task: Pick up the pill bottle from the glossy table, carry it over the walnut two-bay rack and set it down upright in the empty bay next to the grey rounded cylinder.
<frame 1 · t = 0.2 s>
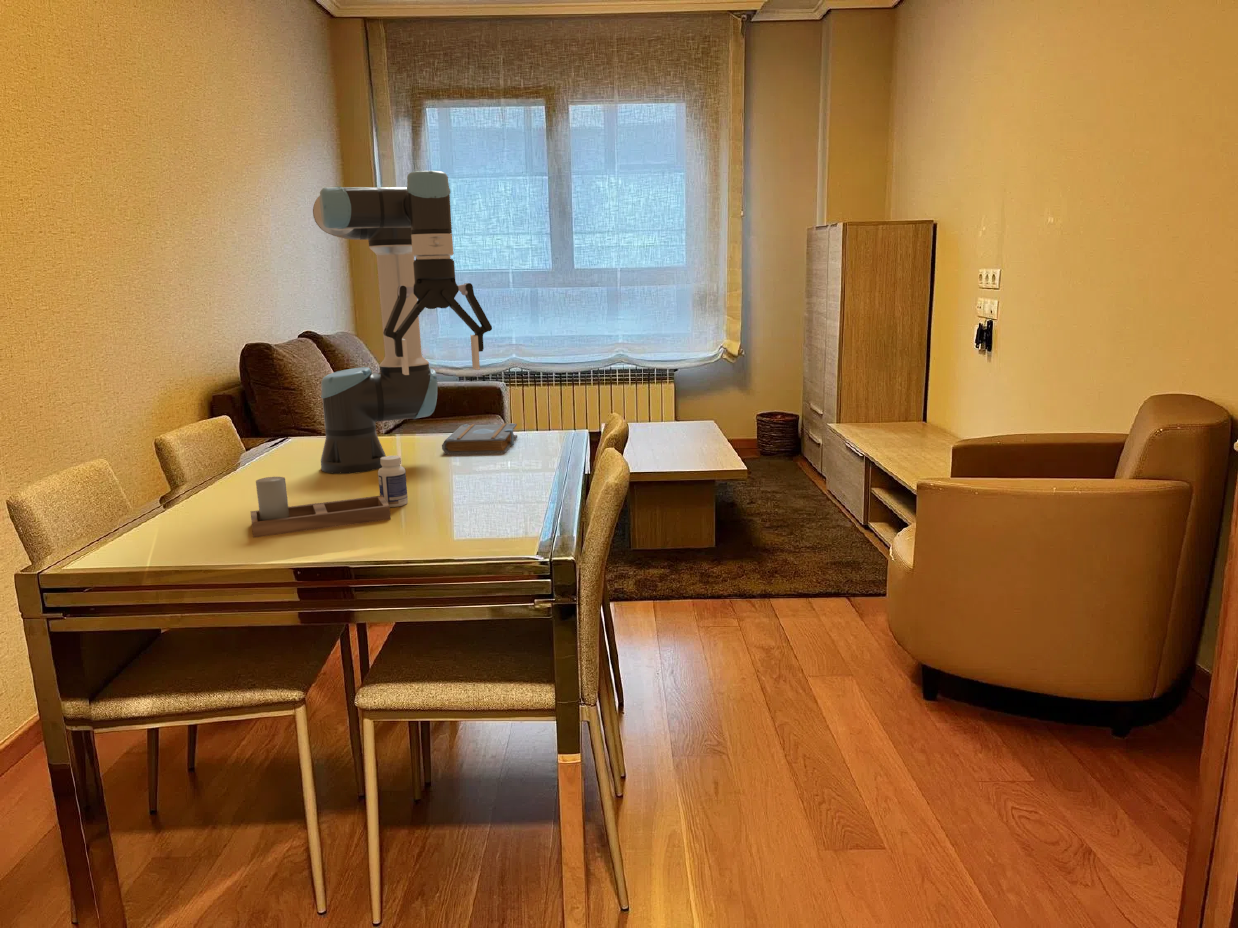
hand: (441, 371, 176), 27 cm above the table, fingers open, 13 cm apart
grey rounded cylinder: (275, 527, 168), point 1 cm above the table, touching rack
pill bottle: (394, 505, 186), on the table
rack: (322, 526, 171), on the table
book: (482, 447, 243), on the table
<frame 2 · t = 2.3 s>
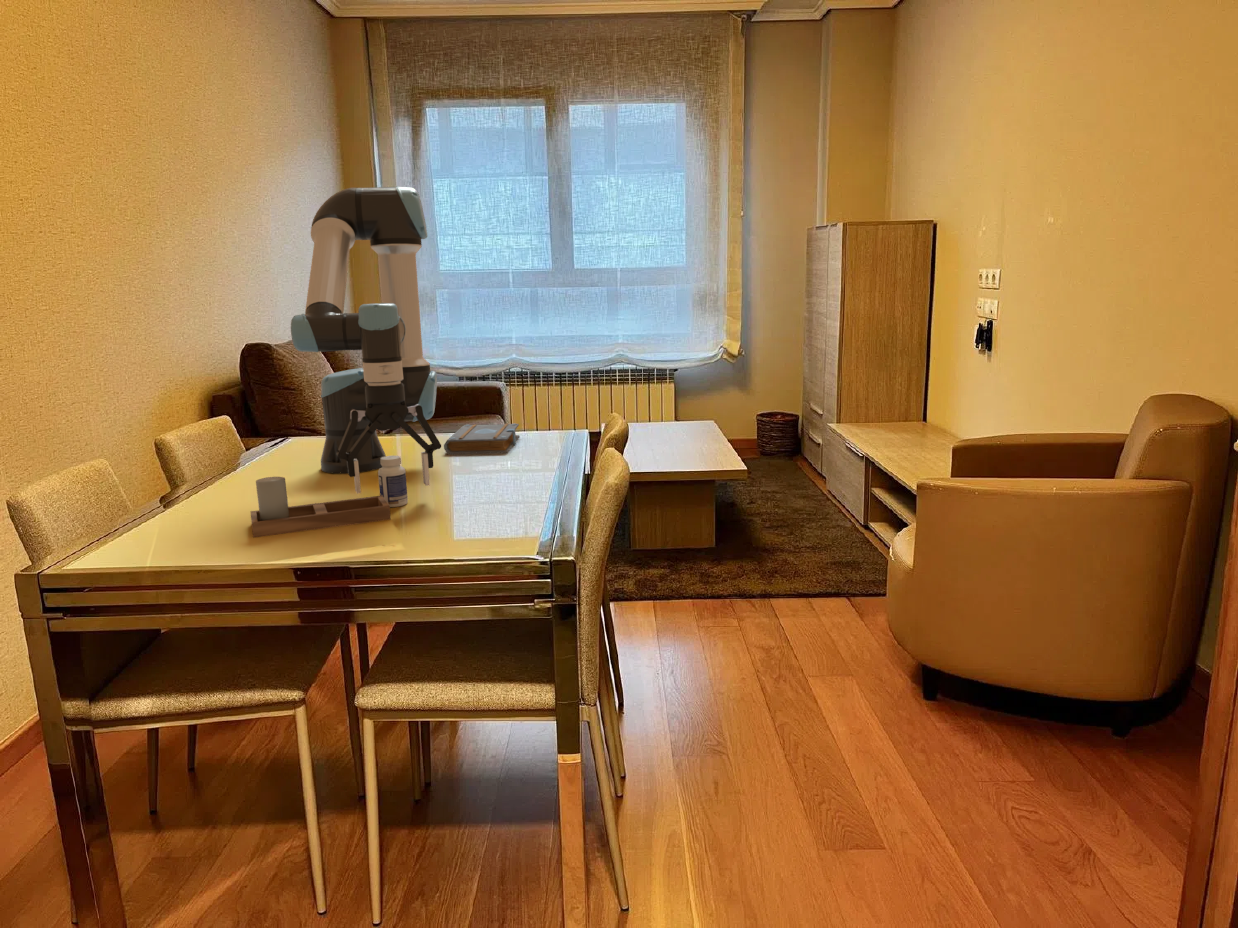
hand: (392, 488, 185), 3 cm above the table, fingers open, 13 cm apart
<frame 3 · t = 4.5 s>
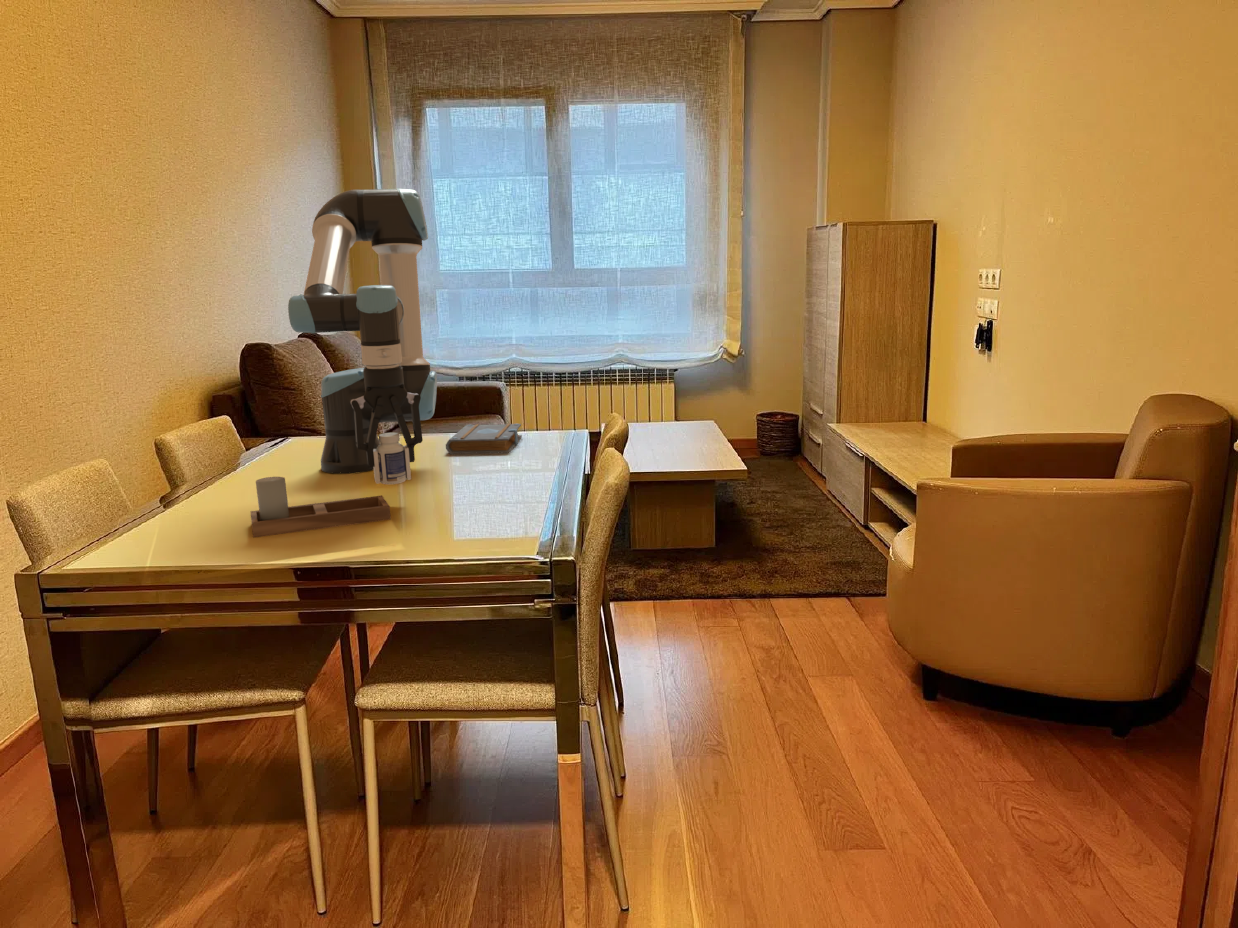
hand: (392, 479, 185), 5 cm above the table, fingers closed on pill bottle, 5 cm apart
pill bottle: (393, 482, 186), point 4 cm above the table, touching gripper
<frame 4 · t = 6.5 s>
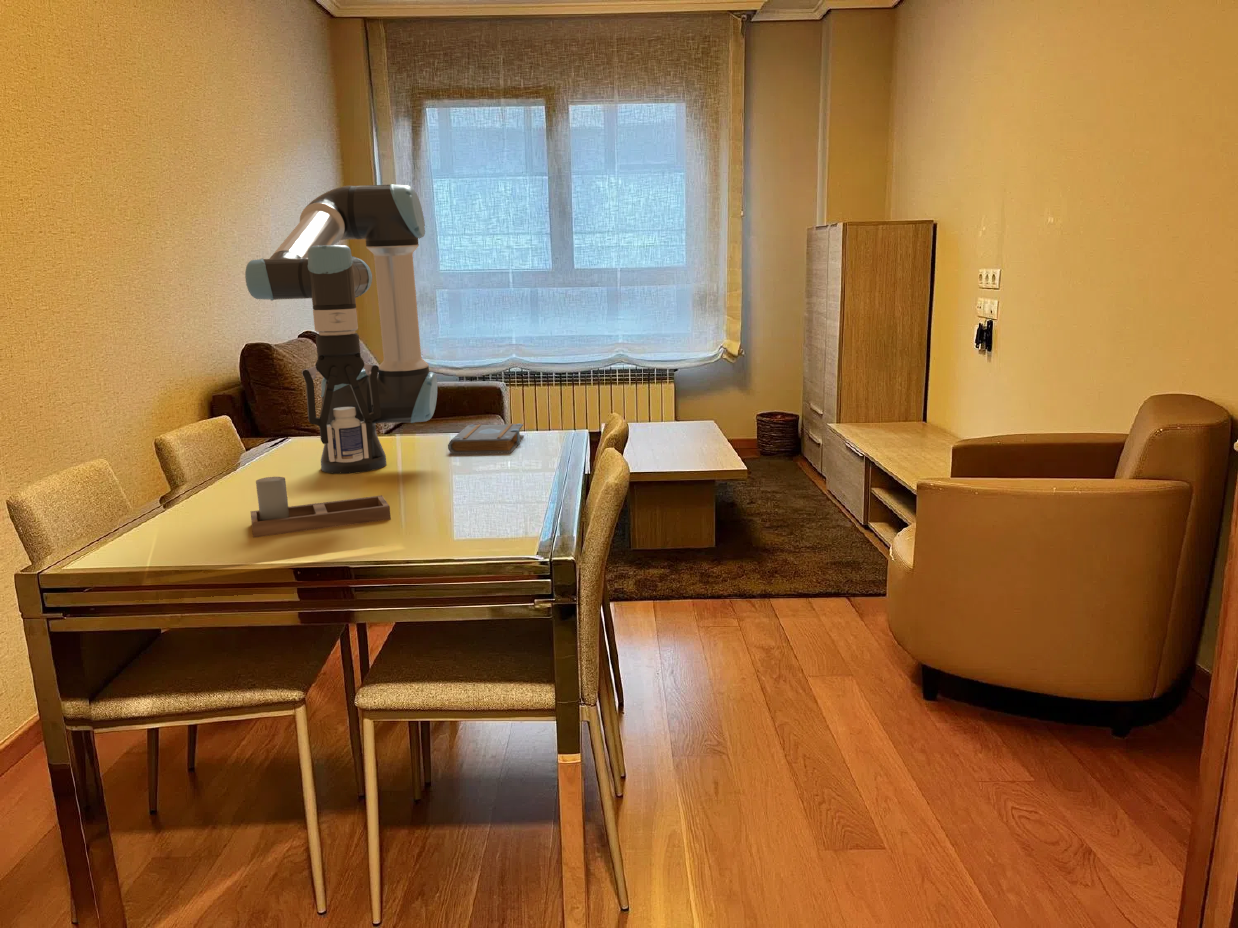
hand: (348, 458, 171), 12 cm above the table, fingers closed on pill bottle, 5 cm apart
pill bottle: (349, 461, 171), point 12 cm above the table, touching gripper
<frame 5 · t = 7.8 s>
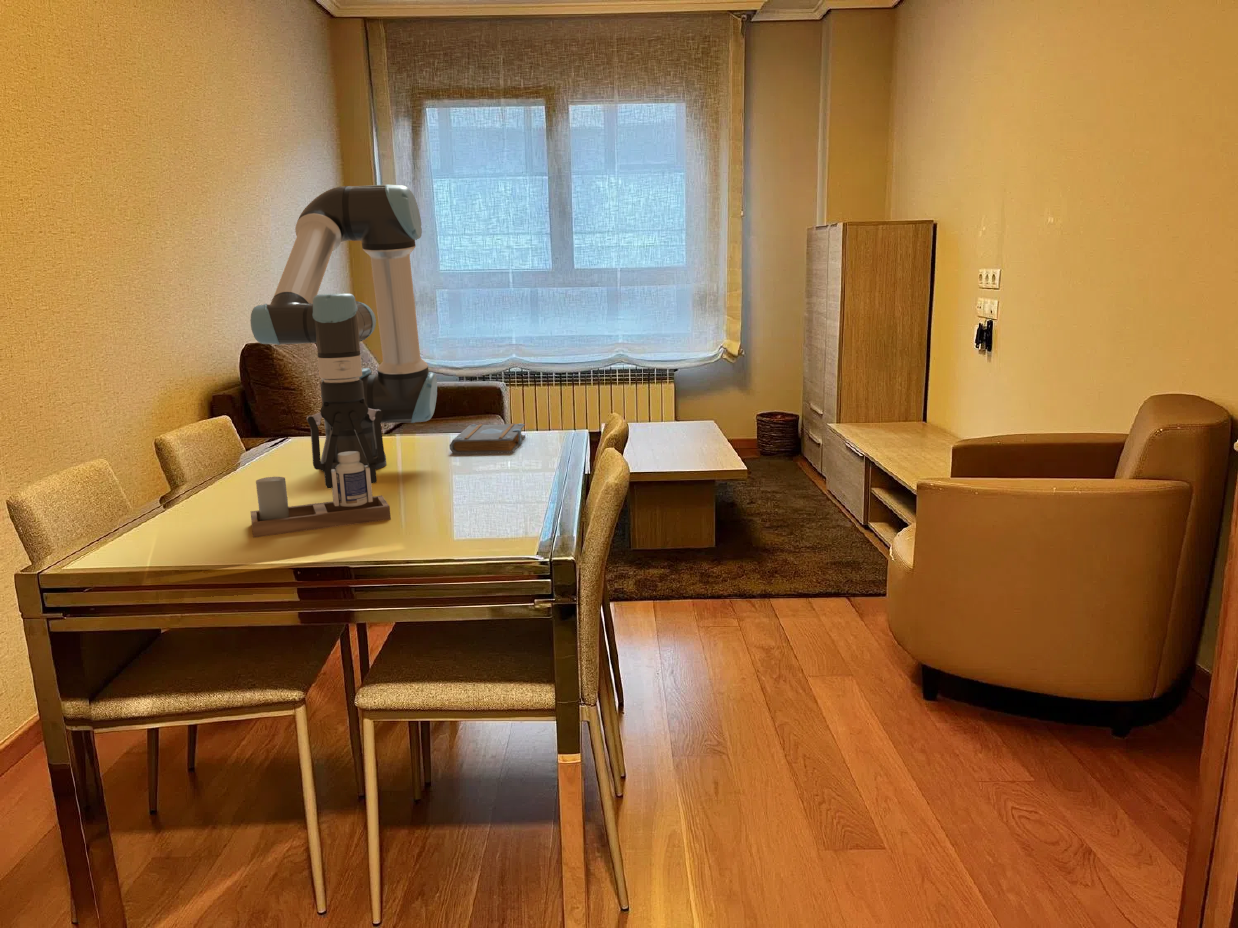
hand: (353, 502, 172), 4 cm above the table, fingers closed on pill bottle, 5 cm apart
pill bottle: (353, 504, 173), point 3 cm above the table, touching gripper
when the fingers open (3 cm above the table, at t = 8.7 s): pill bottle drops 2 cm, resting on rack.
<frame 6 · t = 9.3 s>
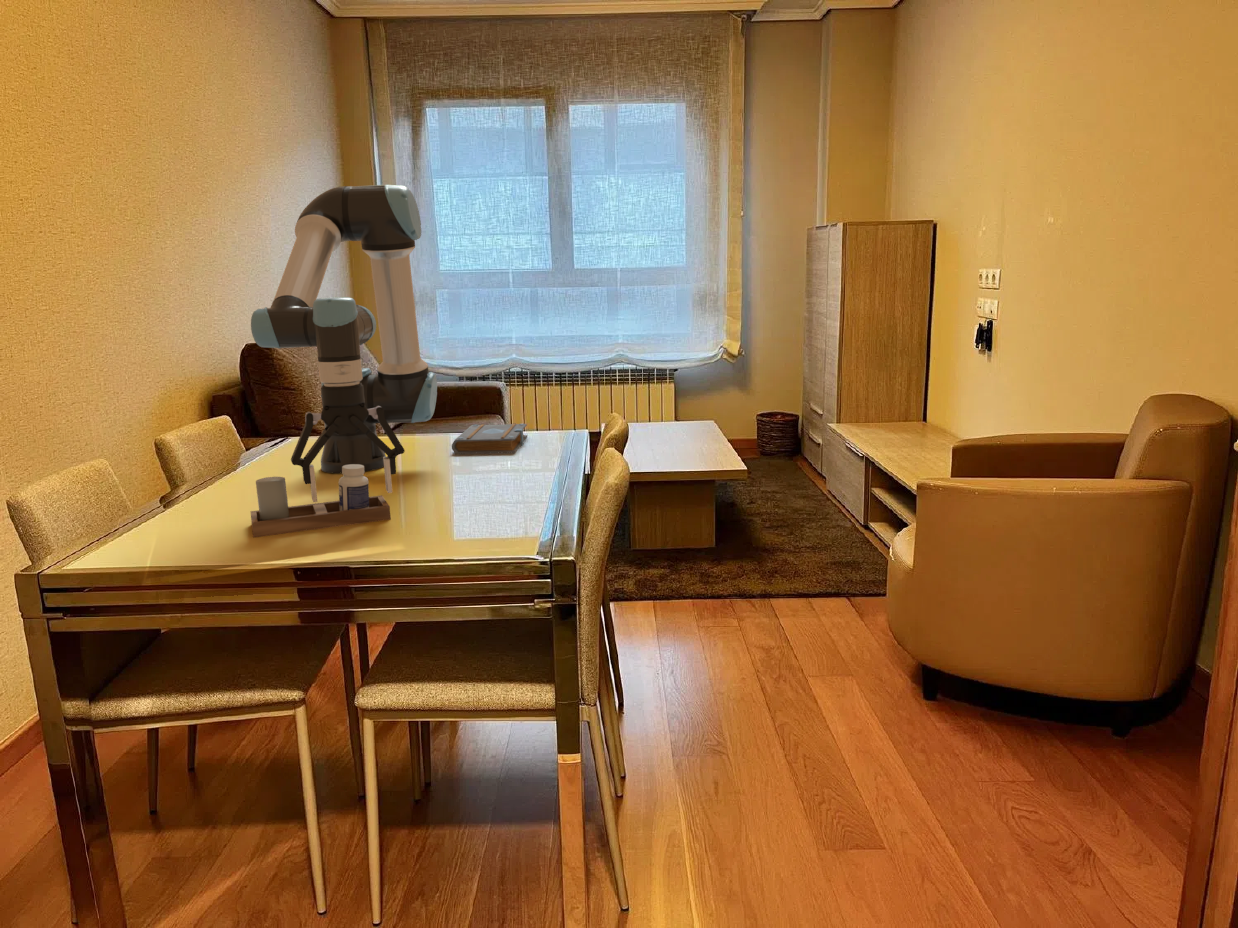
hand: (352, 495, 172), 5 cm above the table, fingers open, 13 cm apart
pill bottle: (354, 517, 173), point 1 cm above the table, touching rack
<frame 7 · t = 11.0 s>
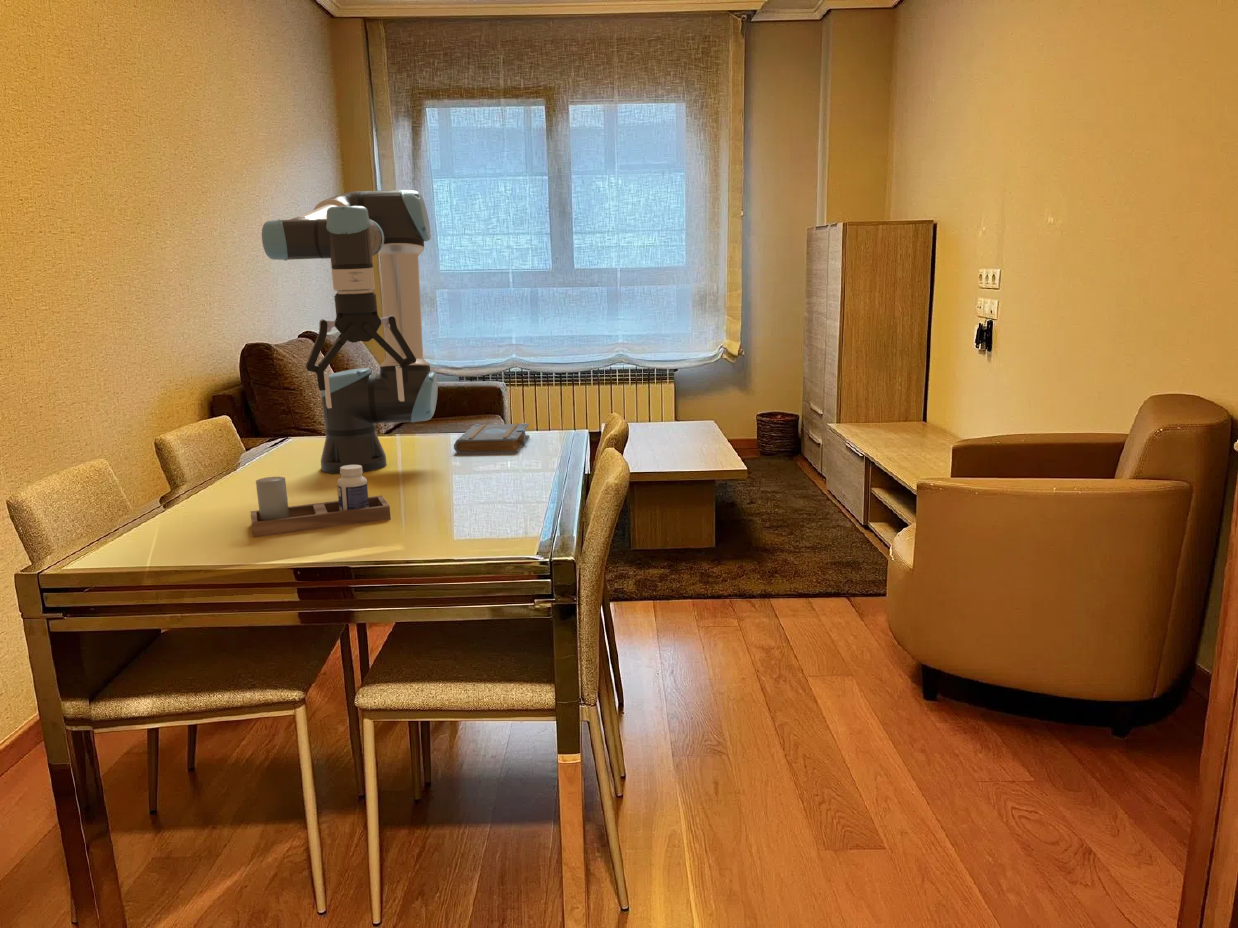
hand: (365, 403, 177), 21 cm above the table, fingers open, 13 cm apart
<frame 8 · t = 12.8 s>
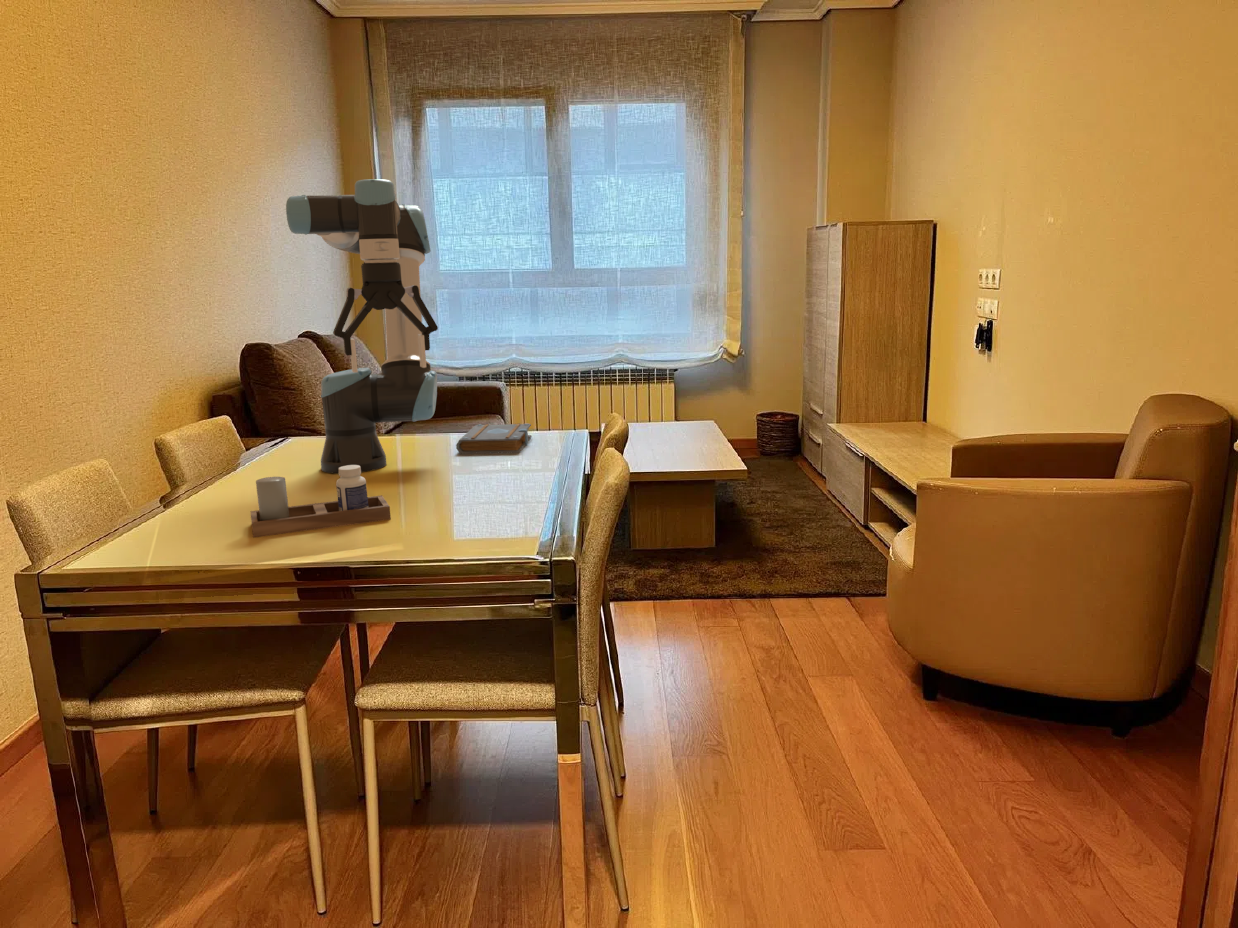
hand: (389, 369, 185), 27 cm above the table, fingers open, 13 cm apart
at the end: pill bottle 0.0 cm from the target spot on the rack, point 0.8 cm above the rack's base; pill bottle tilted 1°; the gripper is holding nothing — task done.
